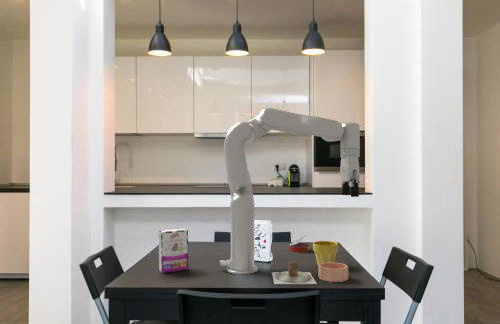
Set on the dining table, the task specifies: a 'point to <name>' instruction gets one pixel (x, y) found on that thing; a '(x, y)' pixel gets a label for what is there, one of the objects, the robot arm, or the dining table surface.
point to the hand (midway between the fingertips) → (350, 195)
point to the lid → (293, 274)
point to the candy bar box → (173, 250)
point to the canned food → (298, 246)
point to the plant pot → (325, 251)
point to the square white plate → (293, 283)
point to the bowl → (333, 271)
